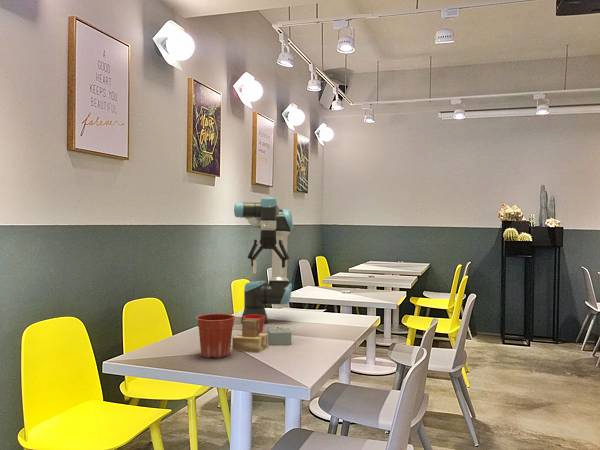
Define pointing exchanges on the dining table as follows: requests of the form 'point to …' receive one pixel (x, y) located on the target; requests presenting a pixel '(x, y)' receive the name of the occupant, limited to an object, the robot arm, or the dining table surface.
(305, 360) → the dining table surface
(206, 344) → the flower pot
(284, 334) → the sage green pedestal
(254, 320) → the walnut block
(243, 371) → the dining table surface
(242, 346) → the oak pedestal
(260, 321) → the flower pot
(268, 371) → the dining table surface
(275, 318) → the dining table surface
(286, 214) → the robot arm
